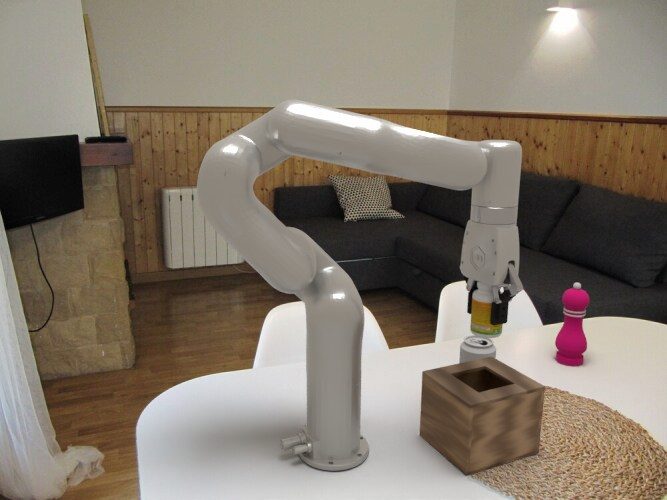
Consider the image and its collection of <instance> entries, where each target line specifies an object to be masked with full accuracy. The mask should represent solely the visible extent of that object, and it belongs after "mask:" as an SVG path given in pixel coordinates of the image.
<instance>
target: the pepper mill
mask: <svg viewBox="0 0 667 500" xmlns="http://www.w3.org/2000/svg"><path fill="white" fill-rule="evenodd" d="M561 301H562V303H563V305H564V306H563V310H562V313H563V314H564V321H563V324H562V327H561V329H560V330H559V331H558V332H557V335H556V337H555V342H554V345H555V347H556V349H557V350H556V353H555V360H556V362H558V363H559V364H561V365H564V366H570V367H578V366H582V365H583V364H584V358H585V357H584V353H585V352H586V351H587V349H588V342H587V341H588V340H587V337H586V334H585V332H584V328H583V322H584V317H585V316H586V313H587V310H586V308H587V307H588V306H589V304H590V296H589V294H588V293H587V291H586V290H584V289H582V284H581V283H580V282H574V283H573V285H572V288H568V289H566V290H565V291H564V293H563V294H562V299H561Z"/></svg>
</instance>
